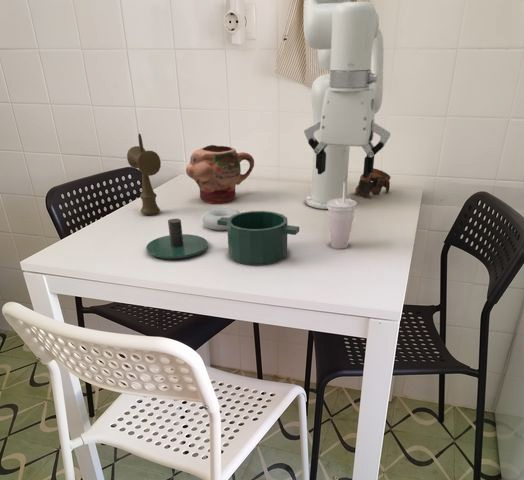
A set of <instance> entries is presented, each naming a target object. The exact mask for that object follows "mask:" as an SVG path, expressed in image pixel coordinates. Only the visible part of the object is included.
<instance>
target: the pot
mask: <svg viewBox="0 0 524 480" xmlns="http://www.w3.org/2000/svg"><path fill="white" fill-rule="evenodd" d="M217 225H223V226H227V230H226V231H227V244H228V245H227V246H228V255H229V258H230V259H231V260H232V261H234V262H235V263H238V264H242V265H245V266H246V265H247V266H268V265H272V264H276V263H279V262H282V261H283V260H284V259H285V258H286V257H288V235H293V236H296V235H297V234H298V233H299V232H300V226H296V225H288V217H287V216H285V215H284V214H282V213H279V212H275V211H268V210H267V211H266V210H250V211H243V212H240V213H239V214H236V215H233V216H231V217H230V218H225V217H222V218H220V219H219V220H217Z"/></svg>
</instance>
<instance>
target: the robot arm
mask: <svg viewBox="0 0 524 480" xmlns="http://www.w3.org/2000/svg"><path fill="white" fill-rule="evenodd" d="M379 21H380V16H379V13H378V12H377V10H376V8H375V6H374V4H373V3H372V2H369V1H351V0H304V1H303V35H304V40H305V42H306V45H307V46H308V47H309V48H310V49H312V50H316V51H317V60H318V65H319V66H320V67H321V69H323V70H324V71H325V70H326V71H329V73H326V74H322V75H319V76H317V77H316V78H315V79H314V81H313V82H312V85H311V92H310V94H311V106H312V119H313V125H311V126H309V127H307V128H305V129H304V130H303V132H304V136H305V138H306V140H307V143H308V145H309V146H310V148H311V149H312V174H311V194H310V195H307V196H306V197H305V203H306V205H307V206H309V207H312V208H315V209H320V210H321V209H322V210H329V209H328V208H327V202H328V201H329V200H332V199H338V198H343V184H344V182H346V194H345V199H351V200H353V198H352V197H350V195H348V194H347V191H348V178H349V177H348V176H349V163H350V149H351V148H350V147H361V148H362V149H363V151H364V152H365V154H366V156H365V157H364V161H363V172H362V174H363V177H364V178H367V177H368V176H369V175H370V173H372V172H373V168H374V166H375V155H376V154H377V153H379V152H380V151H381V150H382V149H383V148H384V147H385V145H386V144H387V142H388V140H389V139H390V137H391V132H390V131H389V130H387V129H385V128H384V127H382V126H380V125H379V124H378V123H376V122H375V114H377V113H378V112H379V111H380V109H381V107H382V102H383V93H384V49H385V48H384V36H383V34H382V31H381V29H380V28H379V27H380V24H379V23H380V22H379ZM374 135H377V136H379V137H380V139H379V140H378V142H377V144H376V145H374V144H373V142H372V141H373V140H374Z"/></svg>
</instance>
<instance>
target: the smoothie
mask: <svg viewBox="0 0 524 480" xmlns="http://www.w3.org/2000/svg"><path fill="white" fill-rule="evenodd" d="M345 194H346V195H347V193H346V182H344V184H343V198H338V199H332V200H329V201H328V202H327V208H328V209H327V210H328V221H329V223H328V224H329V235H330V247H331V248H334V249H339V250H340V249H346V248H348V246H349V241H350V238H351V237H350V236H351V232H352V226H353V221H354V216H355V212H356V209H357V208H358V206H357V205H358V202H357V201H356V200H354V199H352V198H351V199H352V200H351V199H345Z"/></svg>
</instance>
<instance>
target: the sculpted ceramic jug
mask: <svg viewBox="0 0 524 480" xmlns="http://www.w3.org/2000/svg"><path fill="white" fill-rule="evenodd" d="M189 160H190V161H189V163H188V165H187V166H186V168H185V173H186V175H187V176H188V177H189V178H190V179H192V180H194V182H195V183H196V184H197V186H198V188H199V198H200V200H201V201H203V202H206V203H210V204H226V203H230V202H232V201H234V200H235V197H236V187H237V186H239V185H241V184H242V183H243V182H244V181H245V180H246V179H247V178H248V177H249V176H250V175H251V173H252V171H253V169H254V168H255V160H254V157H253V156H252V155H251V154H250V153H248V152H244V151H243V152H237V150H236V148H234V147H231V146H225V145H214V144H210V145H207V146H203V147H201V148H199V149H196V150H195V151H193V152H192V153H191V156H190V159H189ZM242 161H246V162H248V164H249V167H248V169H247V171H246V172H245V173H241V171H242V170H241V169H242V167H241V162H242Z"/></svg>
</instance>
